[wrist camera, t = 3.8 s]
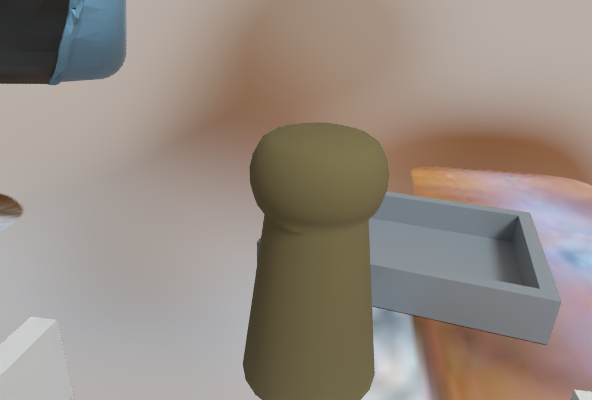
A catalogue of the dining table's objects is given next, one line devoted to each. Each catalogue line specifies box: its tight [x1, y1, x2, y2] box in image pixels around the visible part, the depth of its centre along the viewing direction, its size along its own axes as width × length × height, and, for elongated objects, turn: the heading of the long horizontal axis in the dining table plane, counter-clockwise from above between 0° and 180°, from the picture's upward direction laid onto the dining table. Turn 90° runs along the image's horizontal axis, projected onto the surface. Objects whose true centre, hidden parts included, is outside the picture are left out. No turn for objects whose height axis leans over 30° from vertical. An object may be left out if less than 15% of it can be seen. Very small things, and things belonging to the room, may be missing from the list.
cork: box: [243, 123, 389, 400], centre depth 18 cm, size 6×6×11 cm
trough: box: [257, 191, 561, 345], centre depth 28 cm, size 16×11×3 cm
